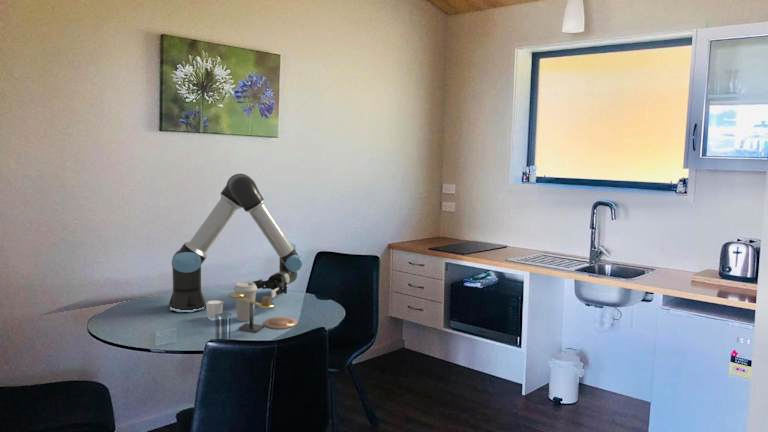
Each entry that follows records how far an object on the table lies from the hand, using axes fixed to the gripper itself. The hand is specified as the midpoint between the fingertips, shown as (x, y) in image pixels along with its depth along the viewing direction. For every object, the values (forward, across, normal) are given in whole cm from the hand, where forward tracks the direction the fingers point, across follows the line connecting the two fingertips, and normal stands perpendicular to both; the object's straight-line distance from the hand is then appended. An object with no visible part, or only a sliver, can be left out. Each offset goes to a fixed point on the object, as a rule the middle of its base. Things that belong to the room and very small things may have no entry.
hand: (257, 292), depth 266 cm
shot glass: (+14, +12, -9) cm, 21 cm away
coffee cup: (+10, 0, -9) cm, 13 cm away
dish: (+10, -16, -8) cm, 21 cm away
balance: (+20, -8, -8) cm, 23 cm away
